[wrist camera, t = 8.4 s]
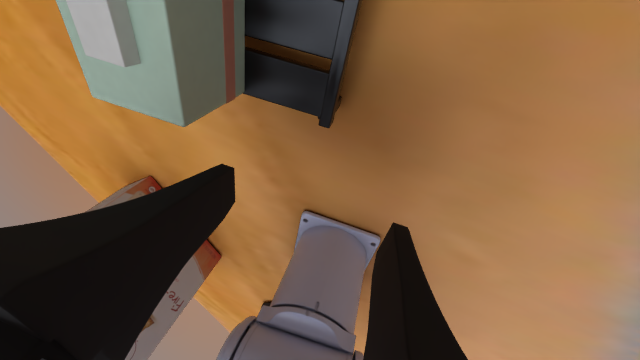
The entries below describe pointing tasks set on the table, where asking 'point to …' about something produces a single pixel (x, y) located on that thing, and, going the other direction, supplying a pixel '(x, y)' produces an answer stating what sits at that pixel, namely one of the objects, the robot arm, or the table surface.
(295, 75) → the rack
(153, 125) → the table surface
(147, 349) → the cracker box
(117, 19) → the tissue box
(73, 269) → the robot arm
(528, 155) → the table surface
